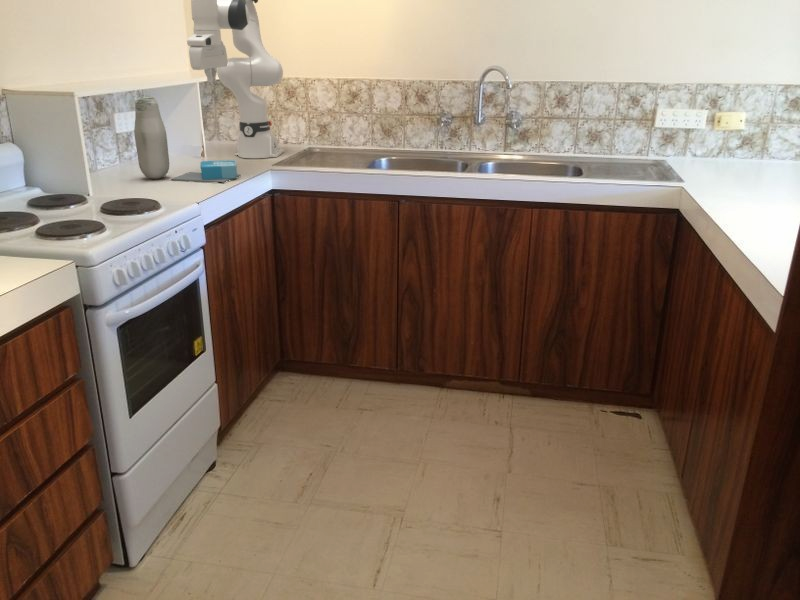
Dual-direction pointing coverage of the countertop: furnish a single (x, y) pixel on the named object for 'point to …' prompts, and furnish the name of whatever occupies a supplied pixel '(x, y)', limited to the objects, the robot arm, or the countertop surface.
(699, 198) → the countertop surface
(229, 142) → the countertop surface
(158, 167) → the grey bottle
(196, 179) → the mat
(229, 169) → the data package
